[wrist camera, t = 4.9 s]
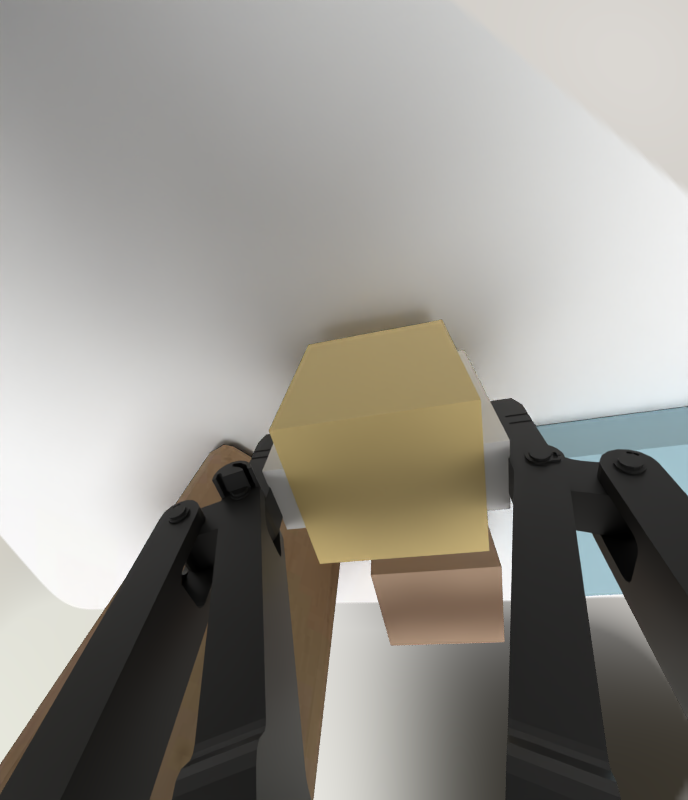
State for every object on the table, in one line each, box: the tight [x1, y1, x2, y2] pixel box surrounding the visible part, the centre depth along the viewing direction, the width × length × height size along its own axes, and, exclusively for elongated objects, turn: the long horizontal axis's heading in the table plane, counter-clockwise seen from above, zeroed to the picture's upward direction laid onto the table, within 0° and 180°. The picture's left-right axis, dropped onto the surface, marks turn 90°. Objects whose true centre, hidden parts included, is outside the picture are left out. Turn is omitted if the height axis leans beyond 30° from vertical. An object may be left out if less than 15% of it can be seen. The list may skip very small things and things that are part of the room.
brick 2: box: [371, 527, 504, 645], centre depth 22 cm, size 6×6×7 cm
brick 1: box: [269, 320, 489, 564], centre depth 15 cm, size 6×6×7 cm
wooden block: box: [0, 445, 340, 800], centre depth 18 cm, size 10×10×20 cm
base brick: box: [536, 407, 688, 596], centre depth 21 cm, size 11×11×3 cm
